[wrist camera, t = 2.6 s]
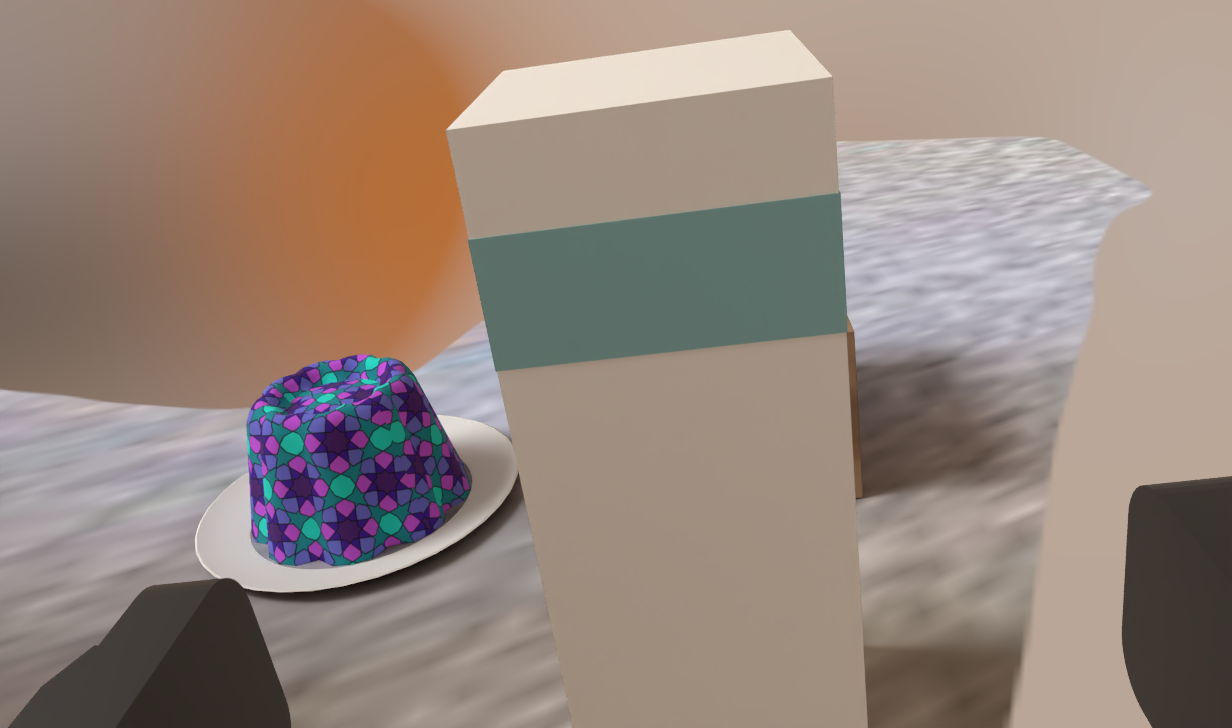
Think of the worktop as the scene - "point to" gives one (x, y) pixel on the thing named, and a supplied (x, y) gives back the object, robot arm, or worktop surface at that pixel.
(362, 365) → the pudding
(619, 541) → the milk carton
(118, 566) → the worktop surface
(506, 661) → the worktop surface
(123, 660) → the robot arm
